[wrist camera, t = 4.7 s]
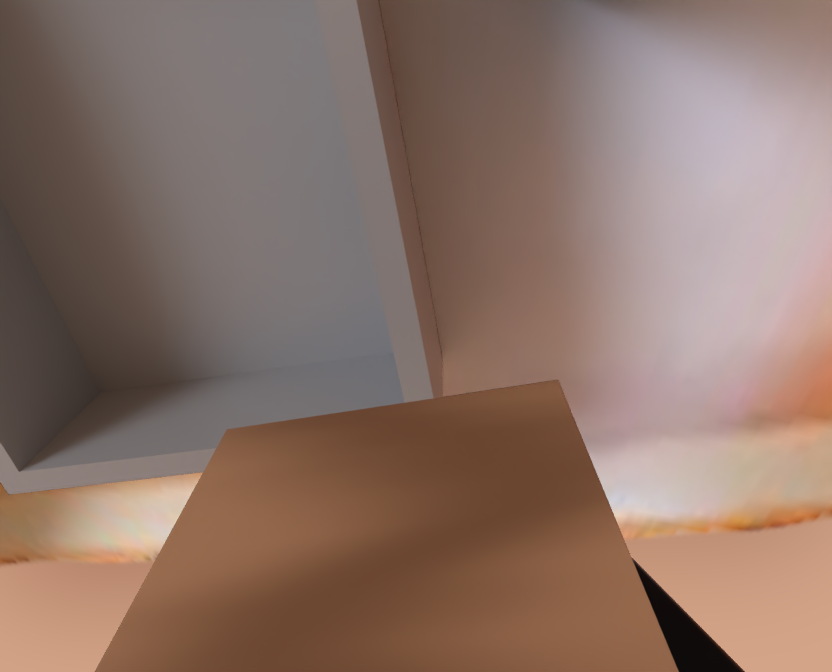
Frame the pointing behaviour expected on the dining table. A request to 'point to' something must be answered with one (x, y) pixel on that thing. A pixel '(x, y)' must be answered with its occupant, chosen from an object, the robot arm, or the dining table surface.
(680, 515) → the dining table surface
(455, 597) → the walnut cube
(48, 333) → the tote
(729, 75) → the dining table surface
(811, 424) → the dining table surface
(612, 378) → the dining table surface
